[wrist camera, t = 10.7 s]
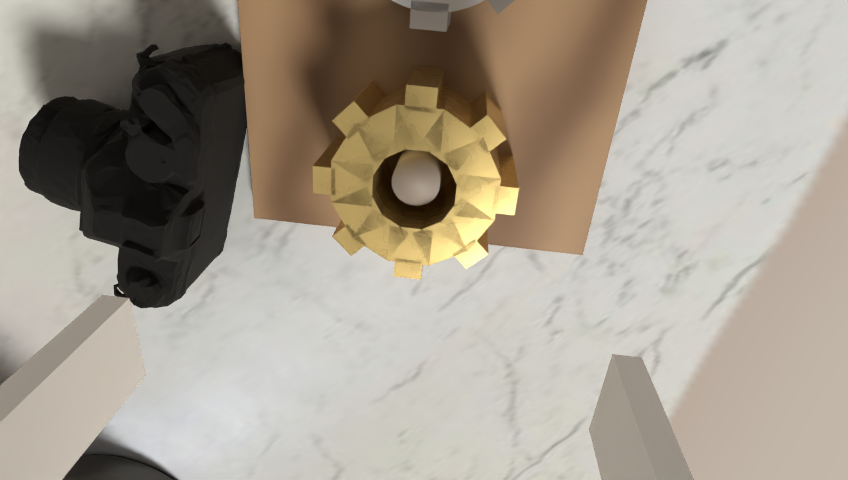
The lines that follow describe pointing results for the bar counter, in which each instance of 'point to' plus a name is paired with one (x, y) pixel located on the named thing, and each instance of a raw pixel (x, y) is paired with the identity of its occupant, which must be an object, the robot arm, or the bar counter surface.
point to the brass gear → (423, 131)
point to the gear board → (463, 71)
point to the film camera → (149, 167)
